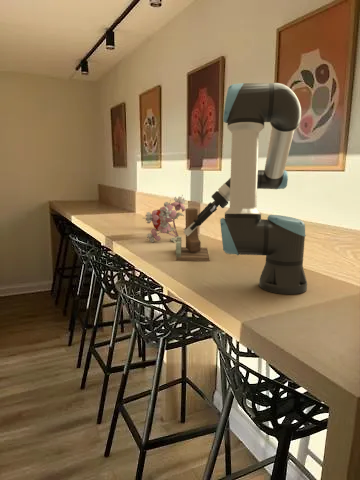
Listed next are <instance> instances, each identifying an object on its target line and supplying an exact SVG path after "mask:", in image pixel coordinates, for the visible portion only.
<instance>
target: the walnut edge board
mask: <svg viewBox="0 0 360 480" xmlns="http://www.w3.org/2000/svg"><path fill="white" fill-rule="evenodd" d="M175 242H176V243H175V261H179V262H210V254H209V250H208V247H201V251H198V252H191V251H189V250H188V249H187V248H186V246H182V236H180V237H177V240H176V241H175Z"/></svg>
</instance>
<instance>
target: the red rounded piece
mask: <svg viewBox="0 0 360 480" xmlns="http://www.w3.org/2000/svg"><path fill="white" fill-rule="evenodd" d="M157 211H158V212H157V213H156V215H157V216H159V217H160V215H159V214H160V208H159V209H157ZM160 222H161V220H160V218H159V219H158V220H157V222H156V223H158V224H157V225H154V224H153V222H152V221H151V223H152V225H153V229H155V230H156V231H159V230H158V227H159V225H160V224H161V223H160ZM162 222H163V221H162Z"/></svg>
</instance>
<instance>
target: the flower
mask: <svg viewBox="0 0 360 480" xmlns="http://www.w3.org/2000/svg"><path fill="white" fill-rule="evenodd" d="M173 199H174V200H173V201H174V202H171V199H170V200H169V201H165V202H164V203H163V206H161V207H160V208H159V209H160V214H159V215H160V217H159V216H157V215H156V213H157V212H158V211H157V210H158V209H157V210H156V209H154V210H153V211H152V212H150V211H146V214H145V217H142V219H144V220H145V222H146V223H147V224H150V223H152V222H153V223H152V225H153V224H154V225H157V224H158V223H156V222H157V220H158V219H159V218H160V220H161V222H160V223H161V224H160V225H159V227H158V230H157V229H155V228H151V229H150V233H149V232H148V233H147V234H146V241H147V240H148V241H149V242H150V243H154V242H155V241H158V242H159V241H161V236H160V235H158V234H166V235H170V236H171V238H170V239H169V241H171V242H174V244H176V242H177V237H181V236H180V235H179V234H178V231H177V228H176V221H175V220H179V219H178V218H179V217H180V216H181V217H182V216H183V217H185V214H184V213H183V212H185V209H186V207H185V205H184V204H186V199H185V197H183V194H181V196H178V197H177V196H175V197H173ZM173 209H174V210H173ZM180 210H181V212H180ZM162 221H163V222H162ZM170 223H172V224H173V226H171V224H170ZM154 225H153V226H154ZM158 231H159V232H158ZM171 232H172V233H171ZM173 233H174V234H173Z"/></svg>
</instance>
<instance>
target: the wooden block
mask: <svg viewBox="0 0 360 480" xmlns="http://www.w3.org/2000/svg"><path fill="white" fill-rule="evenodd" d="M198 212H199V211H198V208H194V207H192V208H189V207H187V208H185V211H184V213H185V228H186V229H187V228H188V227H189V226H190V225H191V224H192V223H193V222H194V221H193V220H195V221H196V220H197V219H198V214H199V213H198ZM198 227H199V226H198ZM198 227H197V228H196V229H195V230H194V231H193V232H192V233H191V234H190V235H189V236H187V235H186V234H185V247H186V248H187V249H188V250H189V251H191V252H198V251H201V245H202V243H201V239H199V231H198Z"/></svg>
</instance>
